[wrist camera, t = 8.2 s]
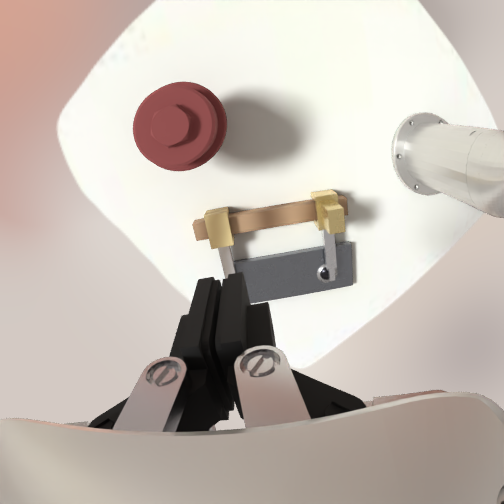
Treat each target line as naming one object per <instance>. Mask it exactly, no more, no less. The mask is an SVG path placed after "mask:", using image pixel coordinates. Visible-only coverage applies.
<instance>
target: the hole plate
mask: <svg viewBox="0 0 504 504" xmlns="http://www.w3.org/2000/svg"><path fill="white" fill-rule="evenodd" d="M335 248H336V262H337V268H335V280H334V281H330V280H329V278H328V270H327V269H326V267H325V257H324V246H320V247H314V248H308V249H303V250H297V251H291V252H285V253H279V254H274V255H268V256H262V257H256V258H250V259H244V260H238V261H233V262H234V267H235V271H236V273H239V272H243V274H244V278H245V282H246V286H247V291H248V295H249V300H250V303H257V302H263V301H269V300H275V299H281V298H287V297H292V296H298V295H304V294H309V293H314V292H320V291H325V290H330V289H336V288H341V287H346V286H351V285H353V276H352V250H351V243H350V242H343V243H337V244H335ZM223 271H224V270H223Z"/></svg>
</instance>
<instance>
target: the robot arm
mask: <svg viewBox="0 0 504 504" xmlns="http://www.w3.org/2000/svg"><path fill="white" fill-rule="evenodd" d="M409 122H410V123H409ZM397 155H398V157H397ZM392 160H393V165H394V168H395V171H396V173H397V175H398V177H399V179H400V180H401V181H402V183H403V184H404V185H405V186H406V187H408V188H409V189H410V190H412V191H414V192H416V193H419V194H422V195H433V194H436V193H439V192H442V193H444V194H446V195H449V196H451V197H453V198H455V199H457V200H460V201H462V202H464V203H466V204H468V205H470V206H472V207H474V208H476V209H479V210H481V211H483V212H485V213H487V214H489V215H491V216H494V217H500V218H504V131H502V130H495V129H488V128H480V127H471V126H461V125H450V124H448V123H447V122H446V121H445V120H444V119H442V118H440V117H439V116H437V115H434V114H432V113H417V114H413V115H411V116H409V117H407V118H406V119H405V120H404V121H403V122H402V123H401V124H400V126H399V127H398V129H397V131H396V133H395V135H394V139H393V142H392ZM414 186H415V187H414ZM234 401H235V404H236V407H237V409H238V412H239V414H240V417H241V418H242V419H244V422H245V427H246V428H245V429H233V430H219V431H216V428H215V424H216V423H217V422H218V421H220V420H228V418H229V411H232V410H234ZM0 504H504V411H503V409H501V408H500V407H499V406H498V405H497V404H496V403H495V402H494V401H492V400H491V399H489V398H487V397H485V396H483V395H479V394H476V393H469V392H446V391H443V390H431V391H424V392H417V393H409V394H401V395H393V396H382V397H374V398H373V401H366V402H363V401H362V400H360V399H359V398H357V397H355V396H353V395H351V394H348V393H346V392H343V391H341V390H338V389H336V388H334V387H331V386H329V385H327V384H324V383H322V382H320V381H317V380H315V379H313V378H310V377H308V376H306V375H304V374H301V373H299V372H297V371H295V370H293V369H291V368H290V366H289V363H288V361H287V358H286V356H285V354H284V353H283V351H281V350H280V349H278V348H276V344H275V337H274V330H273V324H272V319H271V314H270V308H269V304H268V302H265V303H260V304H254V305H251V304H250V300H249V295H248V291H247V286H246V282H245V278H244V274H243V272H239V273H233V274H228V278H227V279H223V283H222V286H221V283H220V280H215V279H214V277H210V278H204V279H199V280H198V283H197V286H196V290H195V293H194V297H193V300H192V304H191V307H190V311H189V314H188V315H183V316H182V317H181V319H180V322H179V326H178V329H177V332H176V336H175V339H174V342H173V346H172V349H171V352H170V356H169V357H164V358H160V359H157V360H156V361H154V362H152V363H150V364H149V365H148V366H147V367H146V368H145V369H144V371H143V373H142V374H141V376H140V378H139V380H138V382H137V383H136V385H135V387H134V389H133V391H132V393H131V395H130V396H129V397H128V398H127V399H125V400H124V401H122V402H120V403H119V404H117V405H116V406H114V407H113V408H111V409H109V410H108V411H106V412H105V413H103V414H101V415H100V416H98V417H97V418H95V419H94V420H93V421H92V422H91V423H89V422H78V423H68V424H59V423H51V422H46V421H39V420H31V419H21V418H10V419H1V420H0Z"/></svg>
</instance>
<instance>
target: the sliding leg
mask: <svg viewBox="0 0 504 504" xmlns="http://www.w3.org/2000/svg"><path fill="white" fill-rule="evenodd" d="M311 198H312V199H313V200H314V201H315V208H316V216H317V220H314V223H315V225H316V226H317V228H318V230H319V231H320V230H322V235H323V245H324V257H325V267H326V269H327V270H328V278H329V280H330V281H334V280H335V268H337V262H336V248H335V235H334V234H336V233H342V232H345V220H344V208H343V207H342V206H341V205H339V203H338V194H337V193H336V192H334V191H333V190H332V189H331V190H324V191H318V192H311Z"/></svg>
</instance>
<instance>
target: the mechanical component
mask: <svg viewBox="0 0 504 504" xmlns="http://www.w3.org/2000/svg"><path fill="white" fill-rule="evenodd" d="M226 130H227V119H226V113H225V110H224V108H223V106H222V104H221V102H220V101H219V99H218V98H217V97H216V96H215V95H214V94H213V93H212V92H211V91H210V90H208V89H207V88H205V87H203V86H201V85H199V84H196V83H191V82H176V83H171V84H168V85H165V86H163V87H161V88H159V89H158V90H156V91H154V92H153V93H151V94H150V95H149V96H148V97H147V98H145V99H144V101H143V102H142V103H141V105H140V106H139V108H138V110H137V112H136V115H135V118H134V122H133V135H134V139H135V142H136V145H137V147H138V148H139V150H140V152H141V153H142V154H143V155H144V156H145V157H146V158H147V159H148V160H150V161H151V162H153V163H154V164H156V165H157V166H159V167H161V168H164V169H167V170H172V171H186V170H191V169H194V168H197V167H199V166H201V165H203V164H204V163H206V162H207V161H209V160H210V159H211V158H212V157H213V156H214V155H215V154H216V153H217V152H218V150H219V149H220V147H221V145H222V143H223V141H224V139H225V135H226Z"/></svg>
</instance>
